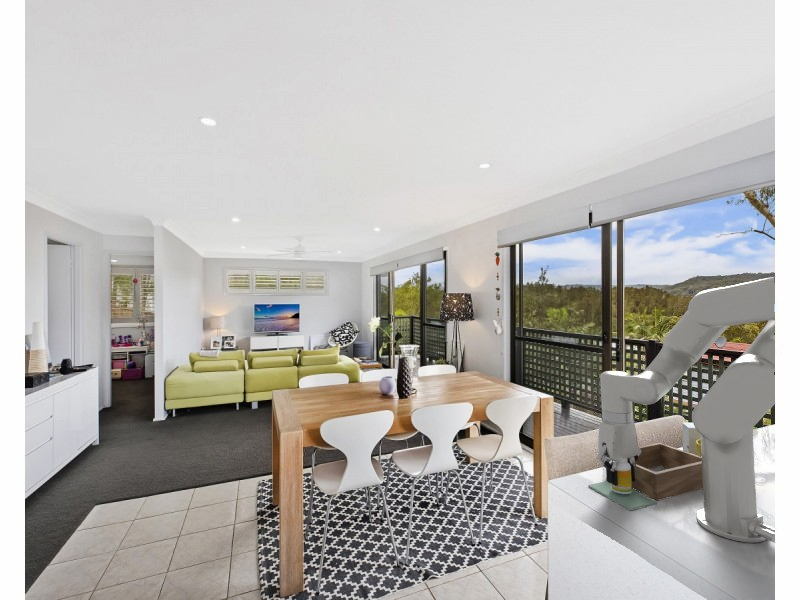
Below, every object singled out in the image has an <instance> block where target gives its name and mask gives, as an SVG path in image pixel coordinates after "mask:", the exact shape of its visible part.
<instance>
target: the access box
mask: <svg viewBox="0 0 800 600" xmlns="http://www.w3.org/2000/svg"><path fill="white" fill-rule="evenodd" d="M638 447H639V448H640V449H641V451H642V452H641V453H640V455H639V456H638V459H637V461H636V466H635V467H634V469H635V481H634V482H632V489H633V488H634V489H633V490H635V489H636V490H635V491H637V490H638V491H637V492H639V491H640V492H639V493H640V494H642V495H644V496H646V497H648V498H650V499H652V500H654V501H656V502H658V501H660V500H661V501H662V500H664V499H668V498H673V497H676V496H680V495H683V494H687V493H690V492H695V491H698V490H703V480H702V461H701V457H700V456H697V455H694V454H691V453H689V452H686V451H683V449H680V448H677V447H674V446H671V445H668V444H665V443H661V442H656V443H651V444H650V443H649V444H647V445H646V444H645V445H641V446H638ZM610 461H611V460H610ZM657 467H658V468H659V467H663V468H666V469H662V470H658V471H653V470H650V469H653V468H657Z"/></svg>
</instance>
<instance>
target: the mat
mask: <svg viewBox="0 0 800 600" xmlns="http://www.w3.org/2000/svg"><path fill="white" fill-rule="evenodd" d="M587 485H588V484H587ZM588 488H589V489H592V490H593V491H594V492H597V493H599V494H600V495H602V496H604V497H605V498H608V499H610V500H611V501H613V502H615V503H617V504H619V505H620V506H622V507H623V508H626V509H627V510H629V511H633V510H638V509H641V508H645V507H649V506H652V505H656V504H657V502H658V501H657V500H655V499H653V498H651V497H649V496H647V495H645V494H643V493H641V492H639V491H637V490H635V489H632V492H631V493H629V494H620V493H617V492H614V491H613V490H611V488H610V483H609V482H607V480H604V481H599V482H595V483H592V484H589V485H588Z"/></svg>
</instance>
